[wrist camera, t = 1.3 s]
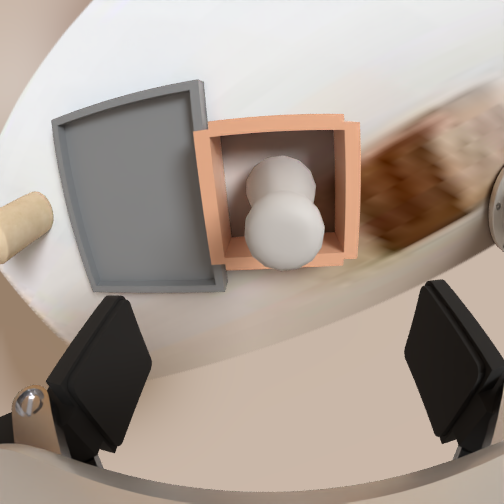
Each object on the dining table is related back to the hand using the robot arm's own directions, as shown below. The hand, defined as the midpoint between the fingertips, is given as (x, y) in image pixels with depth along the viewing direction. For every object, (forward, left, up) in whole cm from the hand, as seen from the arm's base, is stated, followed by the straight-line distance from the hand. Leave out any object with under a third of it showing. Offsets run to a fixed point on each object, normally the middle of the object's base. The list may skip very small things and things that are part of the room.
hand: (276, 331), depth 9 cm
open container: (0, 0, -20) cm, 20 cm away
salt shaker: (0, 0, -20) cm, 20 cm away
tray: (+14, 0, -20) cm, 24 cm away
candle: (+29, 0, -20) cm, 35 cm away
